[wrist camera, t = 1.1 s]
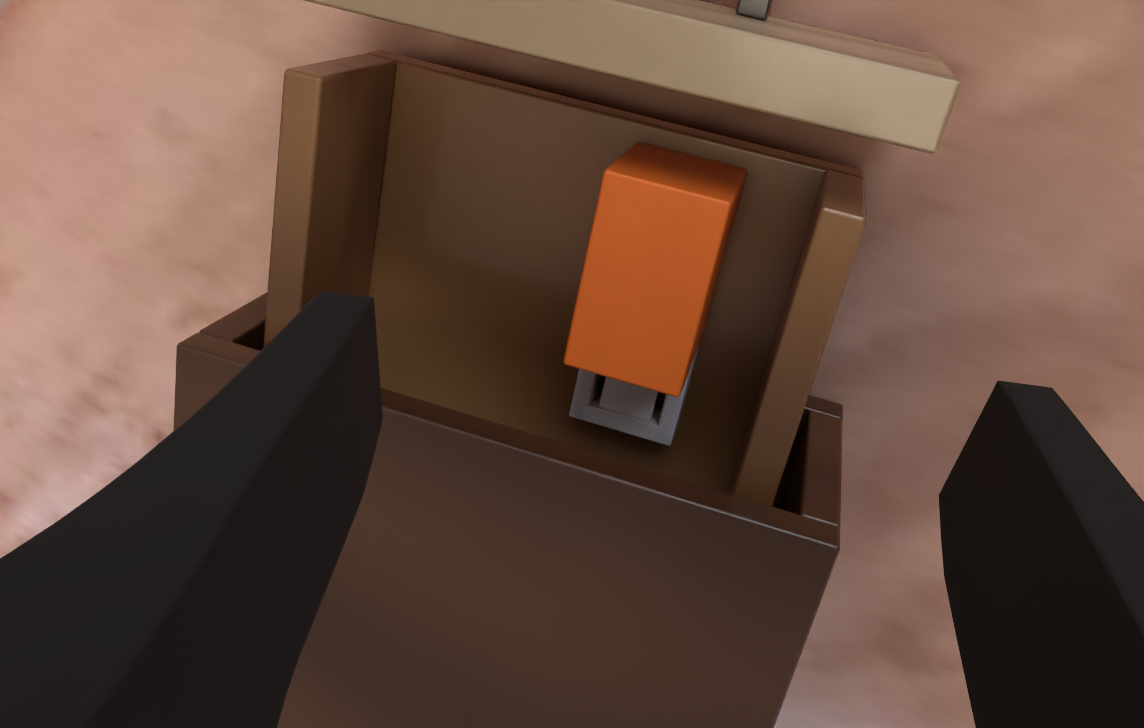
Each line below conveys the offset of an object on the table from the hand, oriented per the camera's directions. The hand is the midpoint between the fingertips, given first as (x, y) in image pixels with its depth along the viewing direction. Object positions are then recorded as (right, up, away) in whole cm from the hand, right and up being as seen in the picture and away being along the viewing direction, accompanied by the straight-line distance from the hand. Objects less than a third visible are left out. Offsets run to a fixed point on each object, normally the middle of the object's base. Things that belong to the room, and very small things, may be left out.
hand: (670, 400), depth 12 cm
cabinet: (-2, -4, +16) cm, 17 cm away
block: (+1, +2, +10) cm, 11 cm away
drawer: (0, +5, +11) cm, 12 cm away
